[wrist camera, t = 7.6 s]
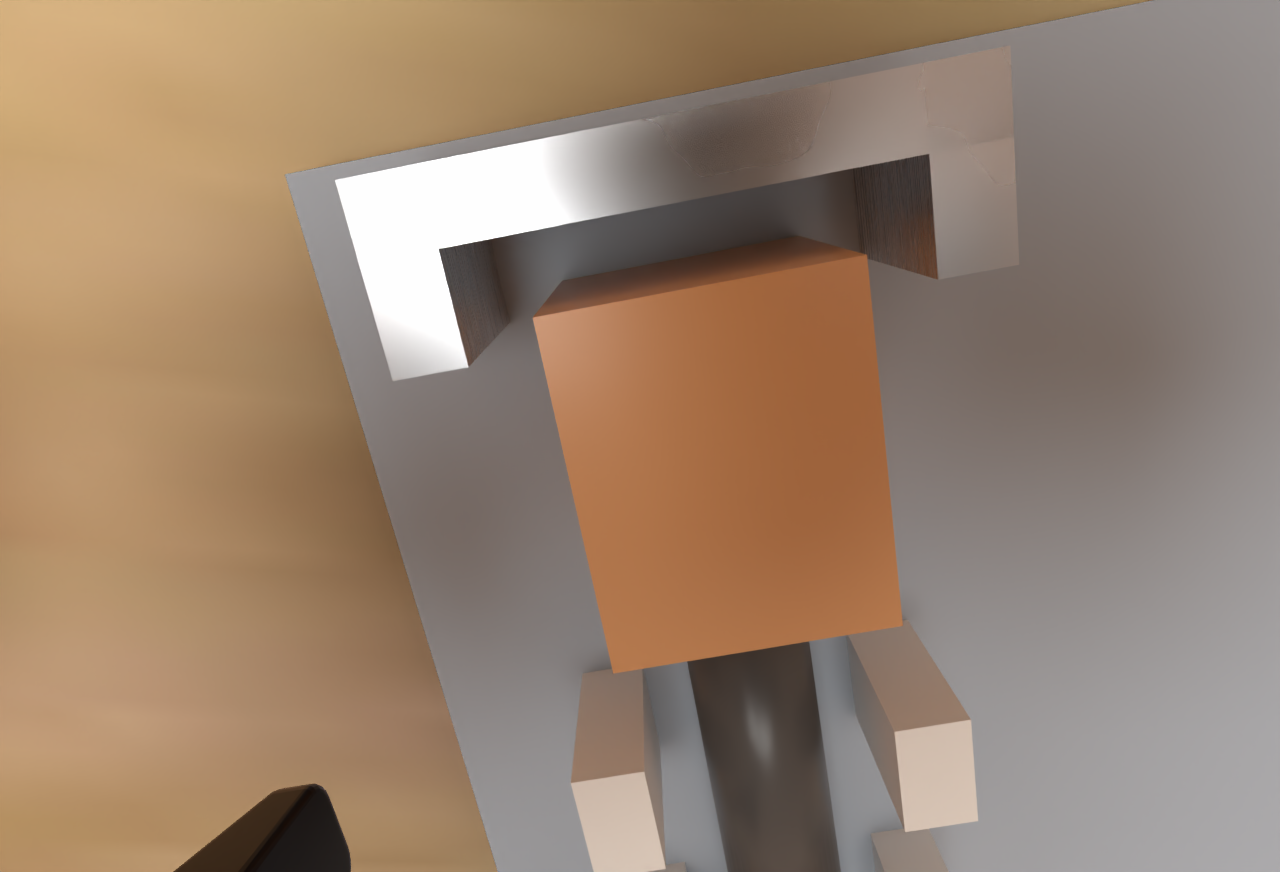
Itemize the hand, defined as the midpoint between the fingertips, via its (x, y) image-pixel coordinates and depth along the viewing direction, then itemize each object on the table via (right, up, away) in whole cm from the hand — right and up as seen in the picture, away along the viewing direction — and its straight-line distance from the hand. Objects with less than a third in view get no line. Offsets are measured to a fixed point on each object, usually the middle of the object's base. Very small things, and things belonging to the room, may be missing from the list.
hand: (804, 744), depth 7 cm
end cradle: (-1, +6, +6) cm, 9 cm away
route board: (+3, 0, +9) cm, 10 cm away
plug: (+1, -1, +8) cm, 8 cm away
